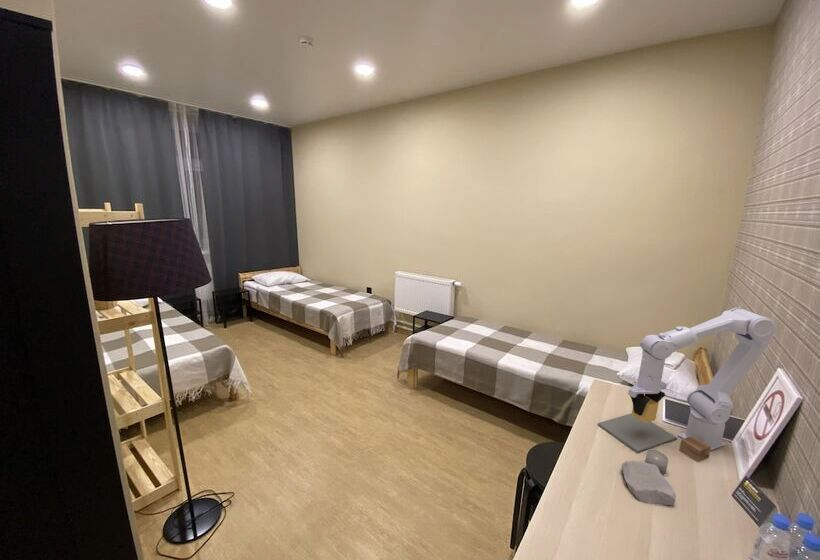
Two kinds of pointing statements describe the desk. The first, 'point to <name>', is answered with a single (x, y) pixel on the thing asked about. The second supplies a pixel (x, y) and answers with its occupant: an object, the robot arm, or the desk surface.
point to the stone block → (648, 483)
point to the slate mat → (636, 432)
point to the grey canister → (657, 460)
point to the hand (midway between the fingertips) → (643, 412)
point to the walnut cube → (695, 448)
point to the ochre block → (648, 412)
